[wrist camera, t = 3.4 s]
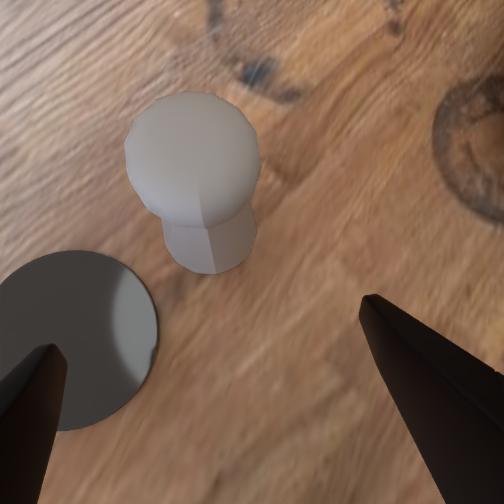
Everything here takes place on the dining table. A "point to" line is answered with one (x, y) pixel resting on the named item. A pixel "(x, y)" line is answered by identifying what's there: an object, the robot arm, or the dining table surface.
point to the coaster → (82, 329)
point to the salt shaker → (197, 177)
